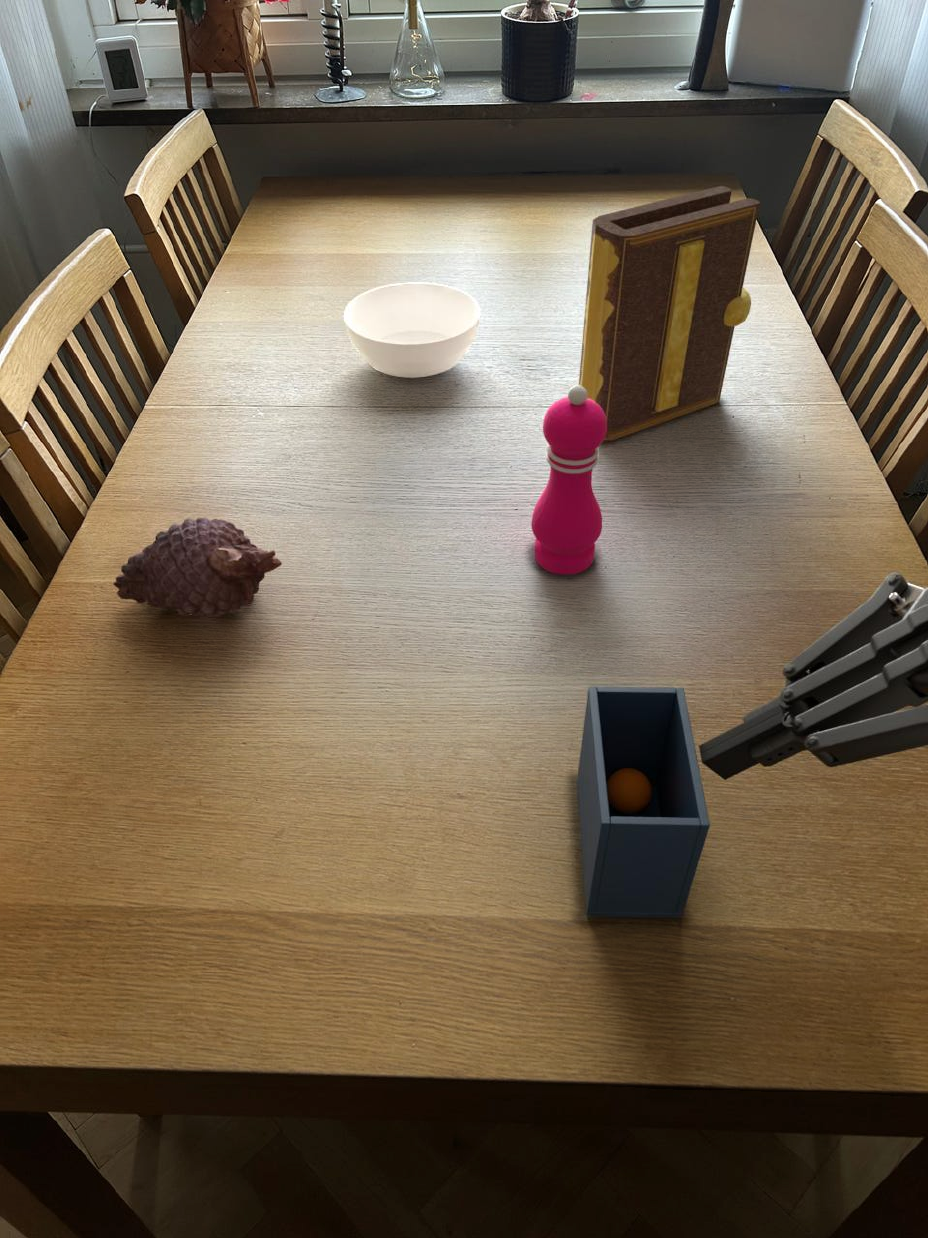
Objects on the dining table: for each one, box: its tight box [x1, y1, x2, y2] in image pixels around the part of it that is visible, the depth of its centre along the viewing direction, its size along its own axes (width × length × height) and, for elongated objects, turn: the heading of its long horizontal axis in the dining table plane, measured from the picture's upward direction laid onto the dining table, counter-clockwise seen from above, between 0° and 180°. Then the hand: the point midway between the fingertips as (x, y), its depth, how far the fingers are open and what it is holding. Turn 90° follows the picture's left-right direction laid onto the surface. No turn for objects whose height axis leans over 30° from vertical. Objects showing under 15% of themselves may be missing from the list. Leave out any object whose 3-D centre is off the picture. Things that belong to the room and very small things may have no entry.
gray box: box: [576, 685, 711, 919], centre depth 68 cm, size 7×12×12 cm, turn 178°
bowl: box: [343, 282, 481, 378], centre depth 126 cm, size 18×18×7 cm
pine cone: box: [112, 517, 283, 619], centre depth 91 cm, size 18×10×10 cm
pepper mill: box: [530, 384, 607, 576], centre depth 91 cm, size 7×7×20 cm
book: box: [578, 185, 761, 443], centre depth 110 cm, size 22×8×25 cm, turn 120°
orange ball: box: [607, 768, 652, 814], centre depth 73 cm, size 4×4×4 cm
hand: (712, 762), depth 65 cm, fingers closed
